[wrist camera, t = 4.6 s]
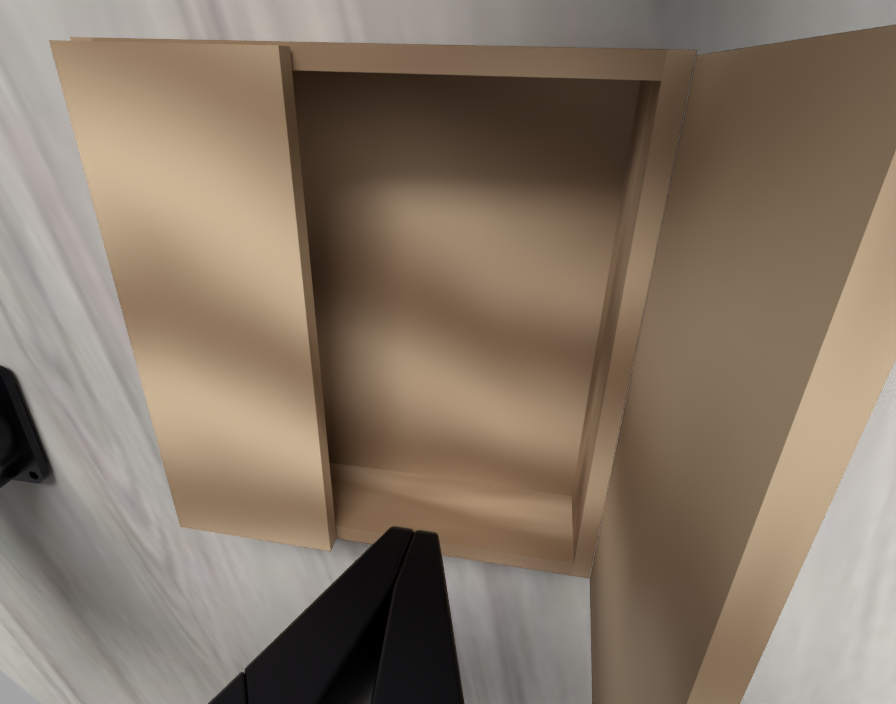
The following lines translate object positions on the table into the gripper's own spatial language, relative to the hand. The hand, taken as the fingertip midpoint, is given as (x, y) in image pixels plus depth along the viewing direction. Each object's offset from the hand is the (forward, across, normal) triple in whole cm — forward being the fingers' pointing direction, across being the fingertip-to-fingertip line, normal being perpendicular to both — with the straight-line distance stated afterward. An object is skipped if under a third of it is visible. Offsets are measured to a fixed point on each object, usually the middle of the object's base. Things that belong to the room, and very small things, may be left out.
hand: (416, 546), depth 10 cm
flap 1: (+7, +8, 0) cm, 10 cm away
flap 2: (+2, -4, 0) cm, 5 cm away
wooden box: (+11, +3, 0) cm, 12 cm away
